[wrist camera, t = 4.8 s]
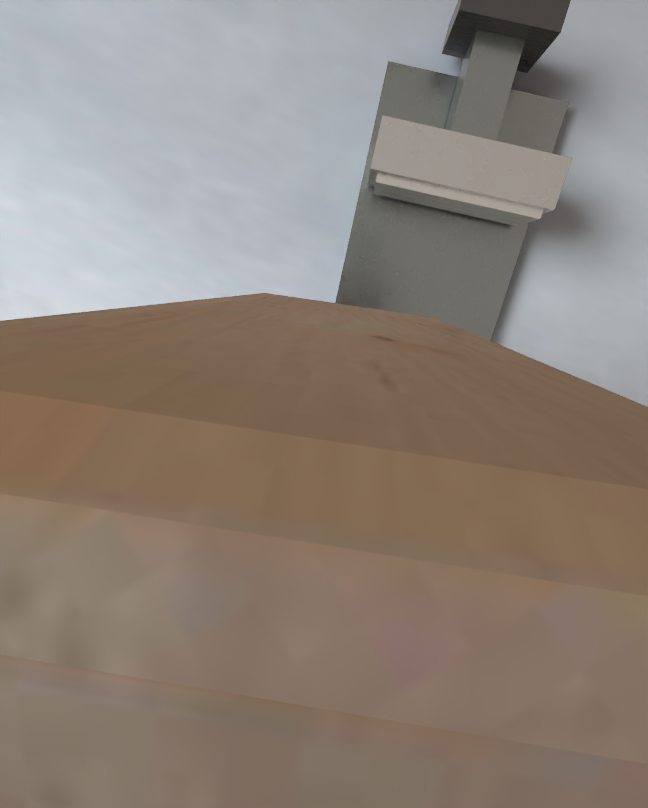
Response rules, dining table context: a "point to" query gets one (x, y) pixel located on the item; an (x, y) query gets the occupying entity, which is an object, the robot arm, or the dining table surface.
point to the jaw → (478, 123)
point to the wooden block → (315, 565)
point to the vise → (438, 219)
